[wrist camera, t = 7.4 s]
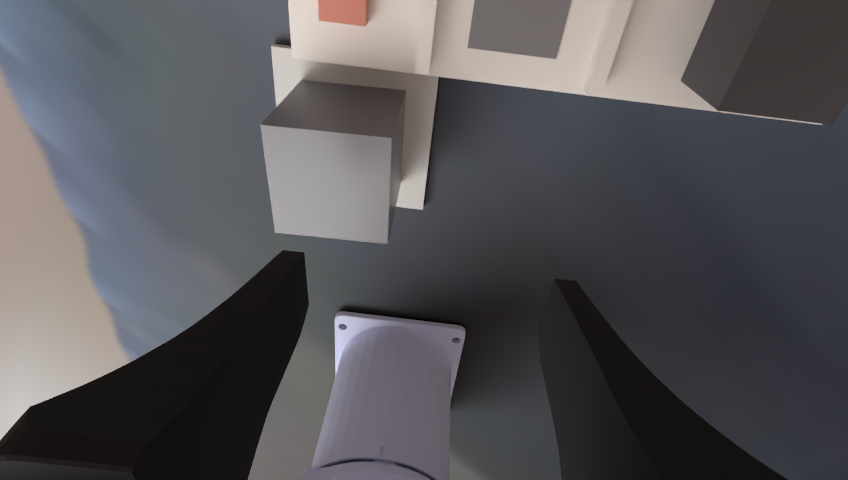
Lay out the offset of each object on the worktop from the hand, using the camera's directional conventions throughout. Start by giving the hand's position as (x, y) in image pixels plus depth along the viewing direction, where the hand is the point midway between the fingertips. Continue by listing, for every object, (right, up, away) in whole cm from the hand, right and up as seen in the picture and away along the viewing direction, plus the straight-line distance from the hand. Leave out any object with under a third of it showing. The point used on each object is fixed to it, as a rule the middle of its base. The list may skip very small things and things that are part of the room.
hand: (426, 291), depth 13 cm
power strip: (+5, +11, +4) cm, 13 cm away
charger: (-3, +6, +8) cm, 10 cm away
